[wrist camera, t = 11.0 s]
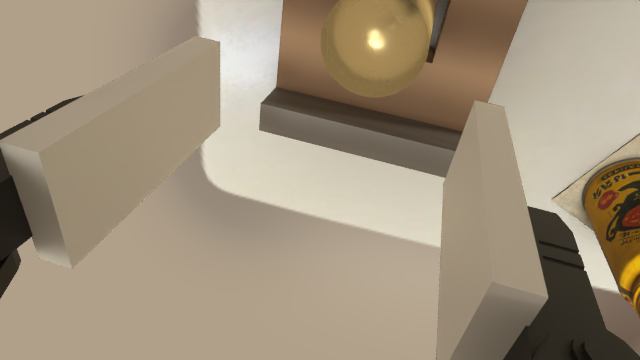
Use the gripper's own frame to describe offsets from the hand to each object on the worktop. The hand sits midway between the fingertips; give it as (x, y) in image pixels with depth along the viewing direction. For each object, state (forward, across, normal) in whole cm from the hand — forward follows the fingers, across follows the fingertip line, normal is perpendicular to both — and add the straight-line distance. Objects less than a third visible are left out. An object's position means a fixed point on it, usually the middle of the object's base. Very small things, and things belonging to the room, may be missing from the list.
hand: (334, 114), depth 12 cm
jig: (+19, 0, -2) cm, 19 cm away
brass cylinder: (+19, 0, 0) cm, 19 cm away
